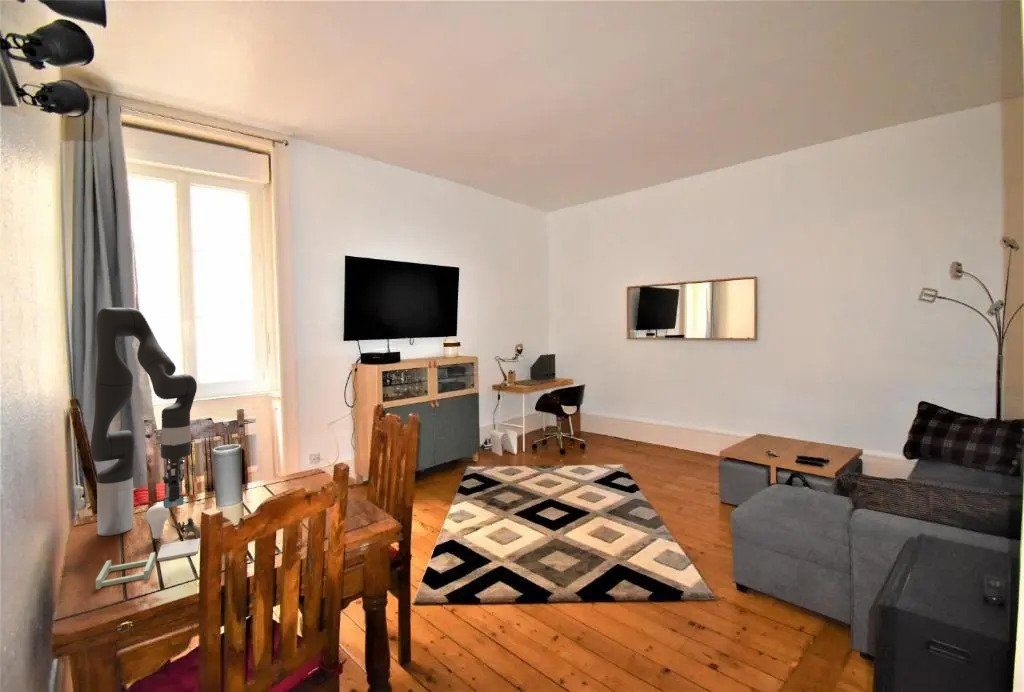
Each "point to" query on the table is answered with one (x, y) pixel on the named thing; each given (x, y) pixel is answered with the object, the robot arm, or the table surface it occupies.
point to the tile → (178, 549)
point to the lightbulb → (157, 519)
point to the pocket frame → (108, 568)
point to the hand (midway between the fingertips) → (176, 496)
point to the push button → (167, 500)
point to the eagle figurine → (188, 528)
